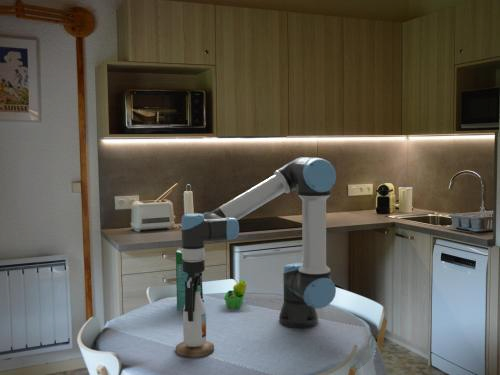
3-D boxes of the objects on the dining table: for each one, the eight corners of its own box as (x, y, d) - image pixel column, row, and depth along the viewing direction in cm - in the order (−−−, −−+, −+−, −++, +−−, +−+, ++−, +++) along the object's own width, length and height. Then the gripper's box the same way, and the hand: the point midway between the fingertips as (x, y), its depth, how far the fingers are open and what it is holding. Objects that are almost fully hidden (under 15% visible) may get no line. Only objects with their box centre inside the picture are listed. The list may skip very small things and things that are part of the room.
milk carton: (198, 309, 228) (197, 251, 226) (176, 309, 228) (175, 251, 226) (200, 303, 237) (199, 247, 235) (179, 303, 237) (178, 247, 235)
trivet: (217, 343, 190) (217, 340, 190) (209, 358, 177) (209, 355, 177) (181, 342, 192) (181, 338, 192) (170, 356, 179) (170, 352, 179)
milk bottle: (197, 349, 179) (195, 290, 178) (179, 344, 183) (177, 287, 182) (210, 341, 186) (209, 284, 184) (193, 337, 190) (191, 281, 188)
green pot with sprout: (228, 301, 240) (228, 276, 239) (248, 302, 239) (248, 276, 238) (223, 309, 229) (223, 283, 228) (244, 310, 227) (244, 283, 226)
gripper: (190, 253, 193) (191, 315, 195) (173, 266, 173) (175, 336, 175) (211, 253, 191) (212, 316, 193) (196, 267, 171) (197, 337, 173)
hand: (194, 325), depth 184 cm, fingers closed on milk bottle, 7 cm apart
